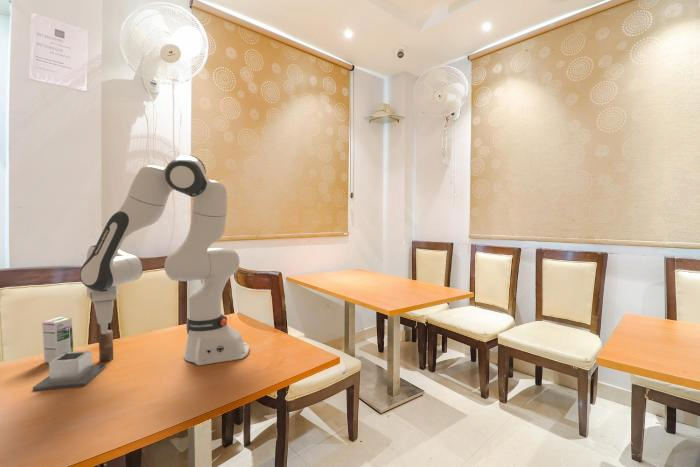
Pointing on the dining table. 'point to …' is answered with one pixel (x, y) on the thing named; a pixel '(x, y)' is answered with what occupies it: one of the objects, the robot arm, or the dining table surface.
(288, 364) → the dining table surface
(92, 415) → the dining table surface
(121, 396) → the dining table surface
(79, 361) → the square collar
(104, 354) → the walnut peg
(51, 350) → the syrup box
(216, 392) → the dining table surface
